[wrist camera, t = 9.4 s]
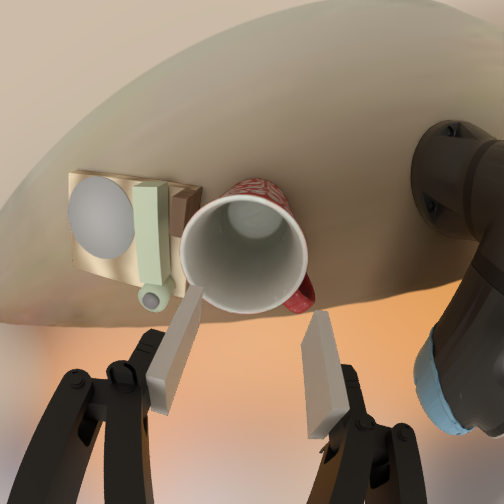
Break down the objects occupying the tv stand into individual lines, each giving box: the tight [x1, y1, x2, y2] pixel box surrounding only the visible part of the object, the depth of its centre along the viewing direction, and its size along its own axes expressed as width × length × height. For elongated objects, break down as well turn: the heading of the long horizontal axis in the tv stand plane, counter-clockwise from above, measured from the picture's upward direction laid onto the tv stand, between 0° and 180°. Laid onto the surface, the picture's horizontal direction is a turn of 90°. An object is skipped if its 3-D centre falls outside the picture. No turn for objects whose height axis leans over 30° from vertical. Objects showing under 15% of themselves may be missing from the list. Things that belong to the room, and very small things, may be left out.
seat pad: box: [68, 176, 135, 259], centre depth 30 cm, size 11×11×1 cm
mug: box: [179, 179, 315, 314], centre depth 25 cm, size 13×9×14 cm
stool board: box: [69, 170, 202, 298], centre depth 30 cm, size 18×14×6 cm
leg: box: [132, 181, 175, 312], centre depth 29 cm, size 15×4×4 cm, turn 175°
